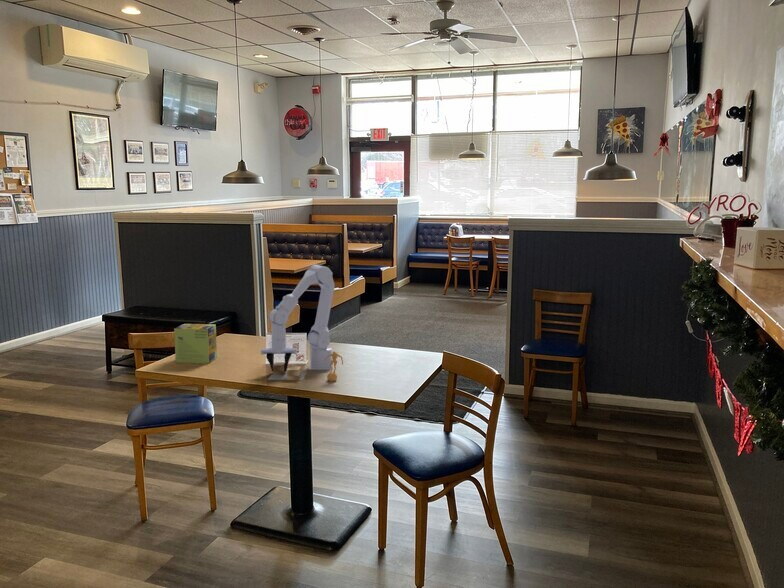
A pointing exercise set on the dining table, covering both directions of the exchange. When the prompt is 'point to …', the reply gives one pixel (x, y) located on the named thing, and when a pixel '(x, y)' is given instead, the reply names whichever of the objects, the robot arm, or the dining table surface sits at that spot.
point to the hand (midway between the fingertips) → (279, 370)
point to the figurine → (332, 375)
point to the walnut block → (279, 368)
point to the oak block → (293, 372)
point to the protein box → (195, 343)
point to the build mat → (285, 376)
